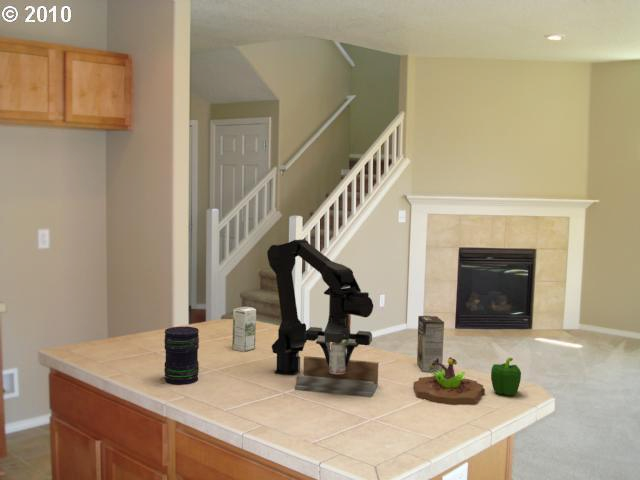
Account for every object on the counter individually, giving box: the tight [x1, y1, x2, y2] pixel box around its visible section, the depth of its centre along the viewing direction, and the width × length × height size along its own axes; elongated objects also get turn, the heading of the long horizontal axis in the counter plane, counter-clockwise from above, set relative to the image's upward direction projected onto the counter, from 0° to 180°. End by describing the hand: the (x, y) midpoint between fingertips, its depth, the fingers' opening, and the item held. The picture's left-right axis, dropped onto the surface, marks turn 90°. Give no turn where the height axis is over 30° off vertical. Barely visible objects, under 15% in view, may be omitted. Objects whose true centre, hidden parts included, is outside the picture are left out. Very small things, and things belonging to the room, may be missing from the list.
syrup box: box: [232, 306, 257, 353], centre depth 237 cm, size 6×6×14 cm
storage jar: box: [163, 326, 200, 386], centre depth 200 cm, size 10×10×15 cm
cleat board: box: [294, 355, 379, 398], centre depth 196 cm, size 22×11×7 cm, turn 77°
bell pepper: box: [490, 357, 522, 397], centre depth 194 cm, size 8×8×10 cm
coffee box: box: [416, 315, 445, 373], centre depth 219 cm, size 9×6×16 cm
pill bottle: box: [329, 342, 347, 374], centre depth 196 cm, size 5×5×8 cm
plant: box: [412, 356, 486, 406], centre depth 193 cm, size 20×20×11 cm
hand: (337, 365), depth 197 cm, fingers closed on pill bottle, 5 cm apart
